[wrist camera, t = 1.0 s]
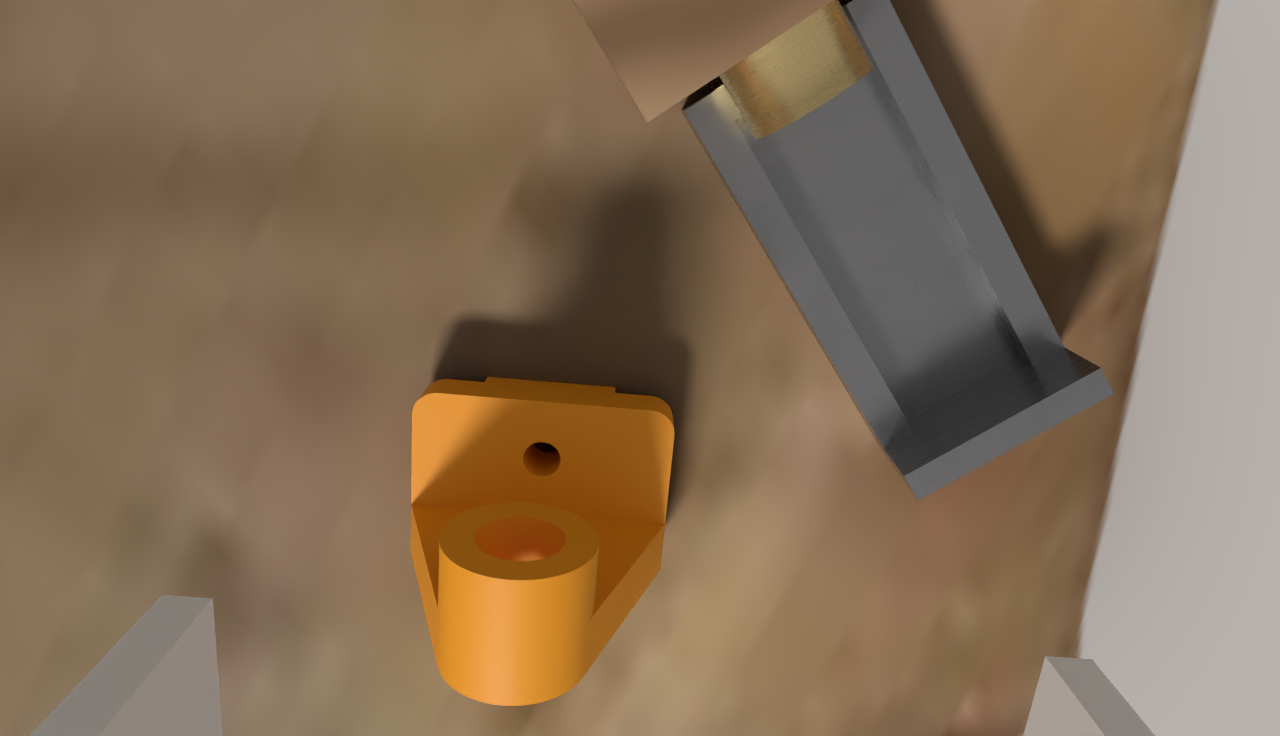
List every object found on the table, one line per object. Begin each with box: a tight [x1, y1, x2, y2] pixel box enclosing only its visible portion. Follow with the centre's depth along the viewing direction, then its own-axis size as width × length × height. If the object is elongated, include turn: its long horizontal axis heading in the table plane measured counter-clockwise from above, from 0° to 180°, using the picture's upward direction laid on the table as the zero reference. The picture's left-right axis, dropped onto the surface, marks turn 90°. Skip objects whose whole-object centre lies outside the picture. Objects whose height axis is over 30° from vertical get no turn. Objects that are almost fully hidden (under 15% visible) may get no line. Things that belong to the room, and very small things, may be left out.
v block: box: [682, 0, 1114, 500], centre depth 33 cm, size 17×8×5 cm, turn 32°
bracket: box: [411, 377, 674, 706], centre depth 32 cm, size 11×7×12 cm, turn 85°
